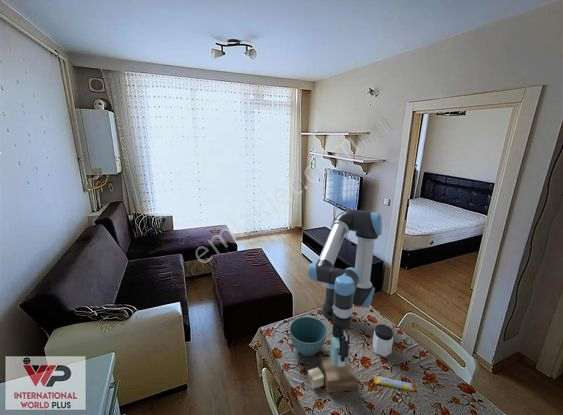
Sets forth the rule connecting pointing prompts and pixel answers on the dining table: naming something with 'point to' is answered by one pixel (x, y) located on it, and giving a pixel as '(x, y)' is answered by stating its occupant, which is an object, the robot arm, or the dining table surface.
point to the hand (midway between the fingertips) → (338, 358)
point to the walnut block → (337, 376)
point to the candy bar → (394, 383)
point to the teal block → (336, 351)
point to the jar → (382, 340)
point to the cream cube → (315, 378)
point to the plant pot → (308, 335)
